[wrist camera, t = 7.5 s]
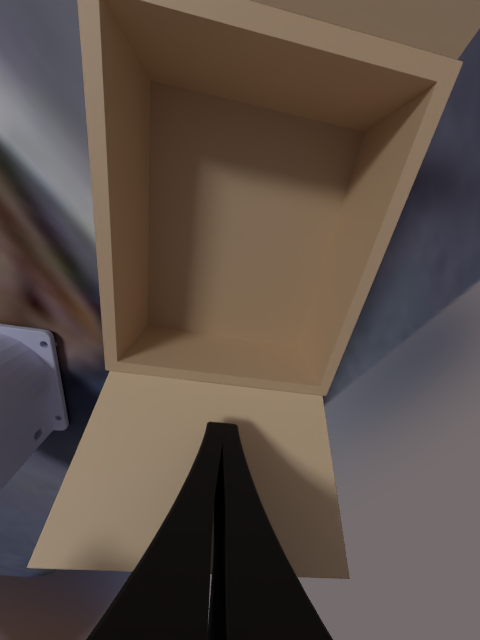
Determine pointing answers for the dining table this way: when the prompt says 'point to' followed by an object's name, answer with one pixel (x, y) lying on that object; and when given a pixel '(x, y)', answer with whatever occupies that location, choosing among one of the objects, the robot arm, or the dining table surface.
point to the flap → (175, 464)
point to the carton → (245, 182)
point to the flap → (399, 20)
